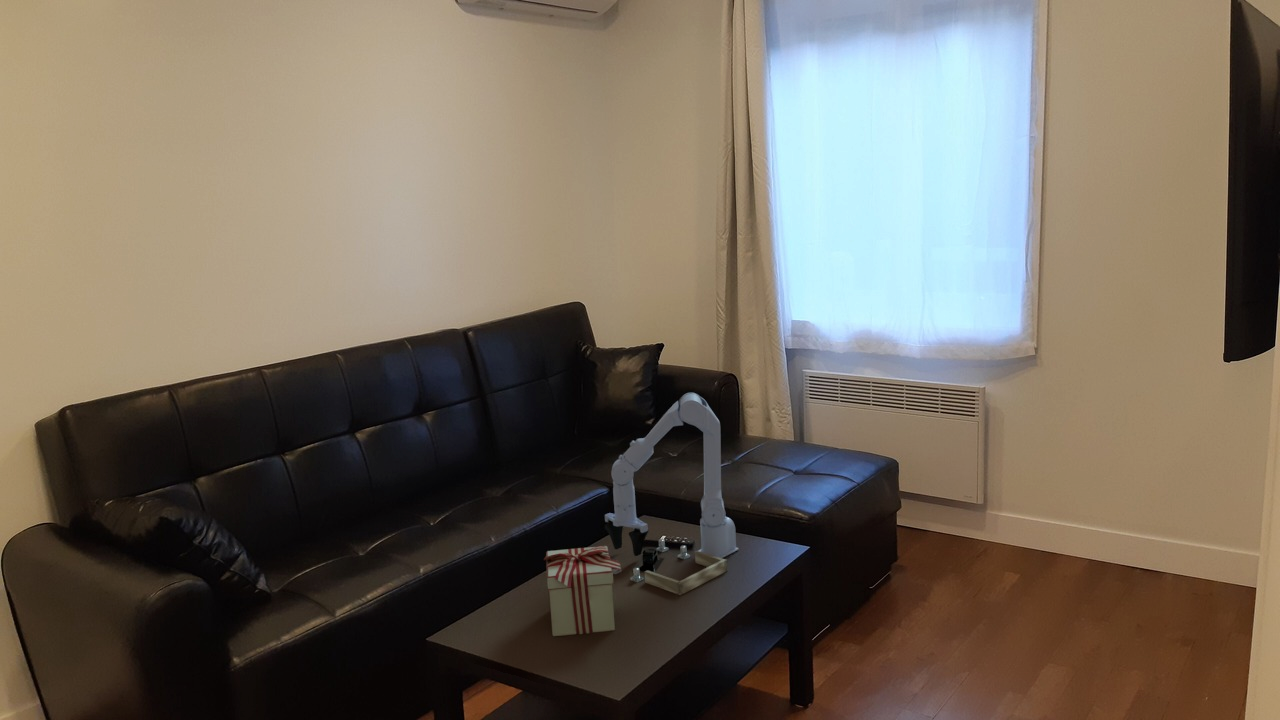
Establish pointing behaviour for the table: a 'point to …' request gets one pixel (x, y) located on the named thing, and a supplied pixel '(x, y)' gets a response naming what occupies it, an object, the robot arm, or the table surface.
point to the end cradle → (680, 587)
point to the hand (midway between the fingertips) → (627, 551)
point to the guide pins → (661, 549)
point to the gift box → (580, 590)
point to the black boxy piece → (650, 560)
